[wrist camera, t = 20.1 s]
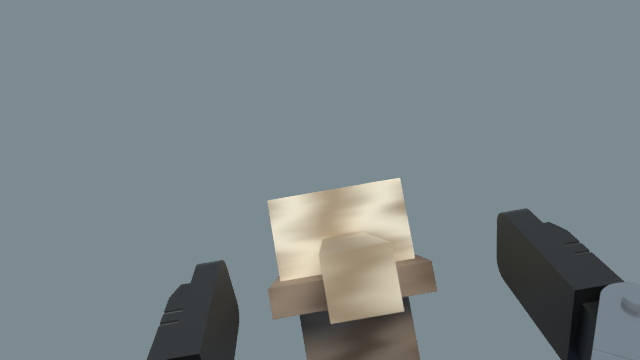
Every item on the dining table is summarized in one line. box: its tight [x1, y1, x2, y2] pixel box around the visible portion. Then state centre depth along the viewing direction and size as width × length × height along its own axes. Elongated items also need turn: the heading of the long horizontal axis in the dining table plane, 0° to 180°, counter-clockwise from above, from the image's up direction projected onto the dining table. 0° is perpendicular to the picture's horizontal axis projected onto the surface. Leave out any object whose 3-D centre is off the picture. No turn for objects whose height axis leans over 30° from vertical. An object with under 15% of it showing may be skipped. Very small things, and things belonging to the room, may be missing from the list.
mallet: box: [268, 178, 415, 324], centre depth 28 cm, size 10×22×6 cm, turn 179°
